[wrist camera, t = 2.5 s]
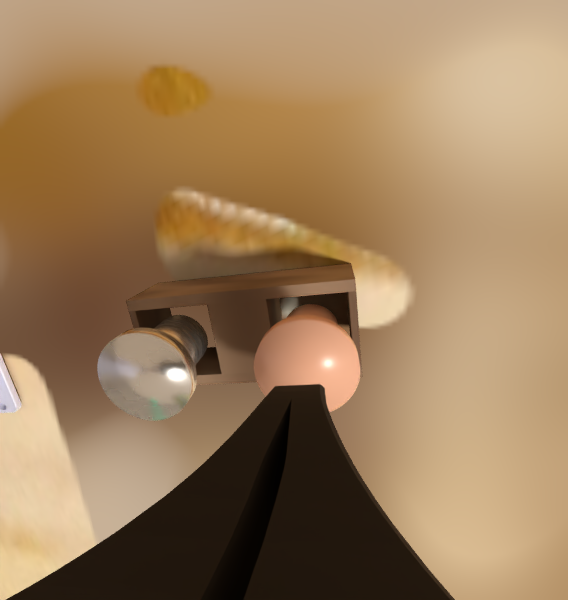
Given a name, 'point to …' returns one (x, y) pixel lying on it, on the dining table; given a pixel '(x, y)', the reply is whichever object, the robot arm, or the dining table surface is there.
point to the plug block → (242, 312)
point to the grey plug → (153, 367)
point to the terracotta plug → (309, 355)
